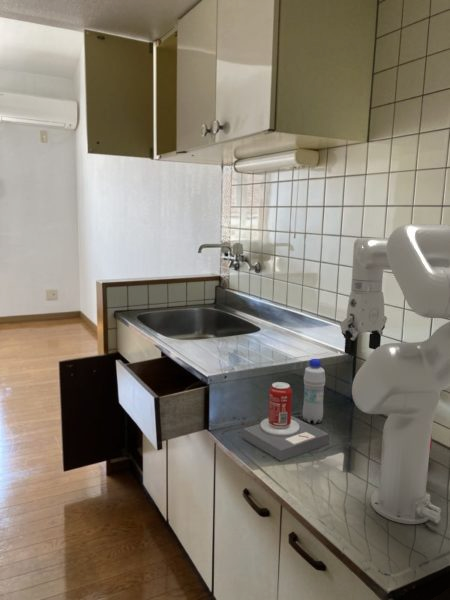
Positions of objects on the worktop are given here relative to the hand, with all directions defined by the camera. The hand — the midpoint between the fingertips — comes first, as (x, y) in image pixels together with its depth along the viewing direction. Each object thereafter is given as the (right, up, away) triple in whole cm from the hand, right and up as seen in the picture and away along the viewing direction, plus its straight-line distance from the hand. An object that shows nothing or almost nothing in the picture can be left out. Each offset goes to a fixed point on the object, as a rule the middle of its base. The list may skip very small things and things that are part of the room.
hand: (362, 351), depth 124 cm
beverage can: (-20, -23, +12) cm, 33 cm away
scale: (-19, -27, +11) cm, 34 cm away
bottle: (-8, -25, +26) cm, 36 cm away
